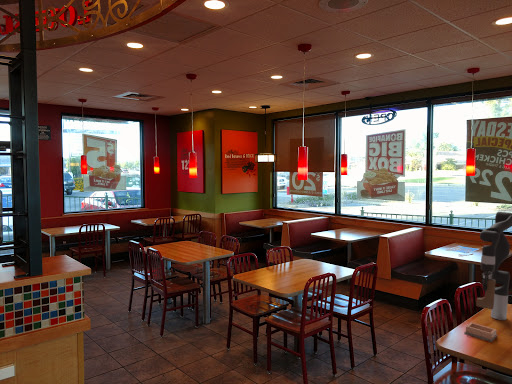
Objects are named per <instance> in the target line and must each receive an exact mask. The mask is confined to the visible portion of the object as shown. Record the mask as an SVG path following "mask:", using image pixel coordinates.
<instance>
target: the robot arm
mask: <svg viewBox="0 0 512 384" xmlns="http://www.w3.org/2000/svg"><path fill="white" fill-rule="evenodd" d="M510 228H512V212H507V211H497V212H496V214H495V216H494V223H493V224H492V225H491V226H489V227H487V228H485V229H483V230H482V231H481V232H480V234H479V238H480V240H481V241H482V242H486V243H491V244H489V245H483V246H482V251H481V252H482V253H481V257H480V270H482V271H483V272H482V274H481V284H482V291H486V290H487V284H488V281H489V279H494V280H496V281H495V285H496V284H497V285H502V286H498V287H497V286H496V287H495V294H494V308H493V309H490V310H491V311H490V317H491V318H493V319H495V320H500V321H506V320H507V314H508V303H509V302H508V301H509V287H510V280H511V274H510V272H509V271H503V270H498V269H499V267H500V266H501V264H502V263H503V262H504V261H505V260H506V259H507V258H508V257H509V255H510V251H511V250H510V249H511V244H510V241H509V240H508V239H507V237H506V235H505V234H504V232H505V231H507V230H508V229H510Z"/></svg>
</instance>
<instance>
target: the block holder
mask: <svg viewBox="0 0 512 384" xmlns="http://www.w3.org/2000/svg"><path fill="white" fill-rule="evenodd" d="M464 335H468V336H470V337H474V338H477V339H480V340H483V341H488V342H491V343H493V341H494V340H495V339H496V338H497V336H498V334H497V329H495V328H492V327H489V326H486V325H482V324H479V323H474V322H469V323H467V325H466V326H465V331H464Z"/></svg>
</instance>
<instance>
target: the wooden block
mask: <svg viewBox="0 0 512 384" xmlns="http://www.w3.org/2000/svg"><path fill="white" fill-rule="evenodd" d="M495 281H496V280H494V279H489V281H488V284H487V290H486V291H485V290H484V291H485V294H484V297H477V299H476V300H475V303H476V305H475V306H476V307H479V308H483V309H488V310H491V309H493V308H494V294H495V288H496V283H495Z"/></svg>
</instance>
